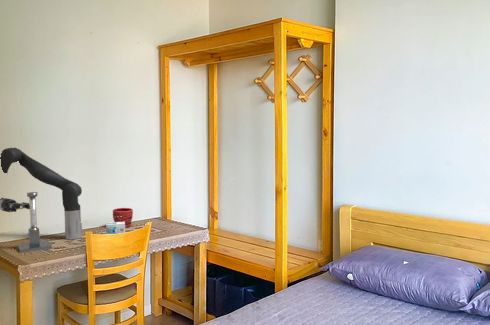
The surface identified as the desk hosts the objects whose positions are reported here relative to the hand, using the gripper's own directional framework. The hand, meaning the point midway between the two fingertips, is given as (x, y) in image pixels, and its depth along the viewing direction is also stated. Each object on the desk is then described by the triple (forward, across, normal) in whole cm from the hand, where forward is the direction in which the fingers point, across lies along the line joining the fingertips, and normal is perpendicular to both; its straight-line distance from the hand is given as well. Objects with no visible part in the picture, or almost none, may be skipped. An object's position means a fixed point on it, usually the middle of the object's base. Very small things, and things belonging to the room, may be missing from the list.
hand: (22, 208), depth 264 cm
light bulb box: (+40, +32, +20) cm, 56 cm away
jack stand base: (+12, -1, +20) cm, 24 cm away
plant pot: (+13, +63, +22) cm, 68 cm away
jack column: (+12, -1, +13) cm, 18 cm away
